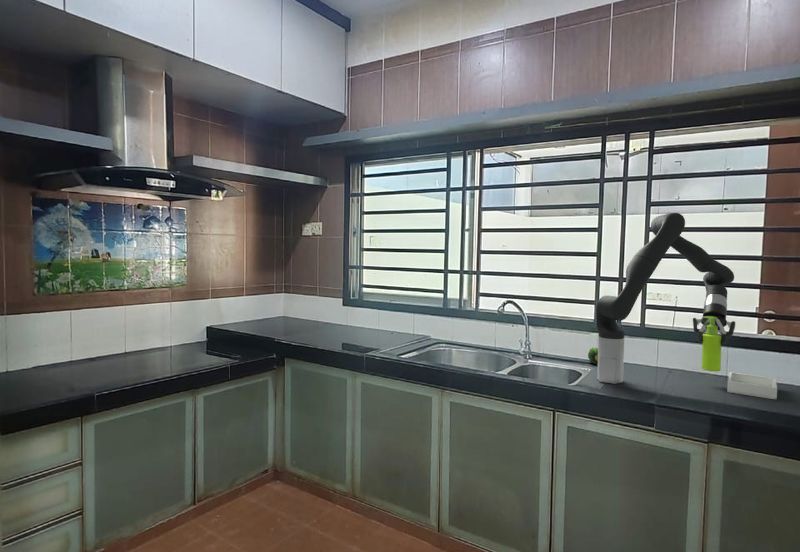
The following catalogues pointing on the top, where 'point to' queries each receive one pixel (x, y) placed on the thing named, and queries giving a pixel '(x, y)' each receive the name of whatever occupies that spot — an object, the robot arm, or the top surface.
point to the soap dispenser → (711, 347)
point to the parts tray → (752, 385)
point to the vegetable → (593, 355)
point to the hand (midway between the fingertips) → (711, 342)
